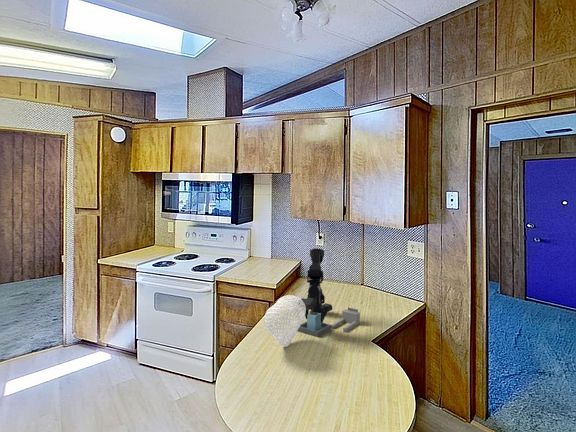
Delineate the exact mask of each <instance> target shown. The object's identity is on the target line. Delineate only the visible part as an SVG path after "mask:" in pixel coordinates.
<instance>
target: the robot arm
mask: <svg viewBox="0 0 576 432" xmlns="http://www.w3.org/2000/svg"><path fill="white" fill-rule="evenodd" d="M309 257H310V260H311V265H309V267H308V270H307V274H306V275H307V276H306V277H307V278H306V283H307V284H308V283H309V286H308V290H307V293H308V294H307V297H306V298H304V297H303V298H300V299H301V300H302V301H303V302H304V303H303V304H305V307H306V313H305V317H304V318H305V320H307V315H308V314H310V313H311V312H316V313H320V314H321V323H324V320H325V319H326V316H327V314H328V312H329V313H330V312H331V311H333V304H330V303H326V302H325V300H326V299H325V298H326V297H325V294H324V293H323V289H322V287H321V284H322V283H323V282H324V272H323V270H322V266H321V264H322V263H323V261H324V258H325V250H324V249H322V248H317V247H316V248H315V247H314V248H312V249H309ZM298 300H299V299H298ZM299 301H300V300H299ZM301 303H302V302H301ZM296 304H298V303H297V302H296ZM299 304H300V303H299ZM301 306H302V305H301ZM299 307H300V306H299ZM303 307H304V306H303Z"/></svg>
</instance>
